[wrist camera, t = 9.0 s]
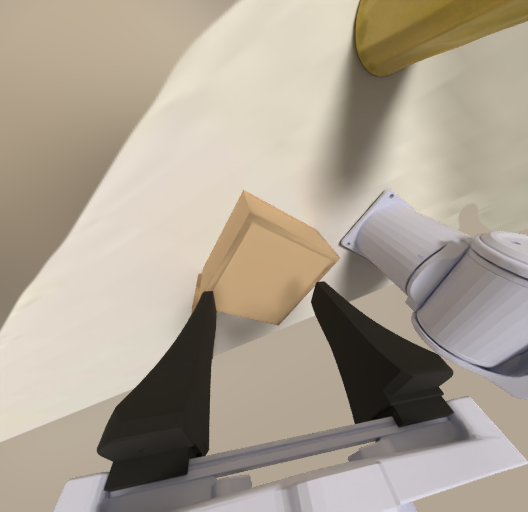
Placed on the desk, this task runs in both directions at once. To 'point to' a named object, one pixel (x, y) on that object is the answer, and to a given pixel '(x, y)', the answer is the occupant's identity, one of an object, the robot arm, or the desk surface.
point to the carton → (264, 262)
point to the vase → (426, 28)
